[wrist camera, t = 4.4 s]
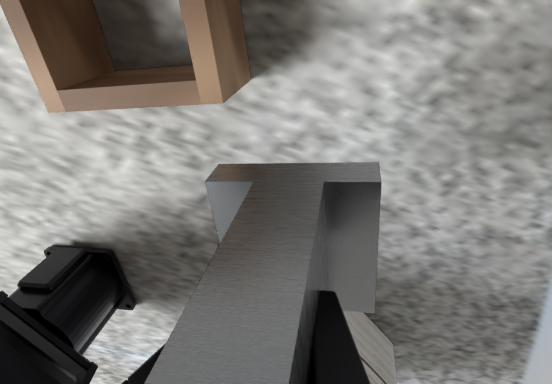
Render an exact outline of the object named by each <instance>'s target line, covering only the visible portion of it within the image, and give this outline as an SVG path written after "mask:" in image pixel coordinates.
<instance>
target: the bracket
mask: <svg viewBox="0 0 552 384" xmlns="http://www.w3.org/2000/svg"><path fill="white" fill-rule="evenodd" d="M205 184H206V188H207V192H208V197H209V201H210V205H211V209H212V214H213V218H214V222H215V226H216V230H217V235H218V239H219V243H220V245H219V246H218V248H217V250H216V252H215V254H214V256H213V257H212V259H211V261H210V263H209V265H208V267H207V269H206V270H205V272H204V274H203V276H202V278H201V280H200V282H199V283H198V285H197V287H196V289H195V291H194V293H193V294H192V296H191V298H190V300H189V302H188V304H187V306H186V307H185V309H184V311H183V313H182V315H181V317H180V318H179V320H178V322H177V324H176V326H175V328H174V330H173V331H172V333H171V335H170V337H169V339H168V341H167V343H166V344H165V346H164V348H163V350H162V352H161V354H160V355H159V357H158V359H157V361H156V363H155V365H154V367H153V368H152V370H151V372H150V374H149V376H148V378H147V380H146V381H145V383H144V384H314V363H313V332H314V325H315V318H316V312H317V306H318V300H319V294H320V291H321V290H327V291H335V292H336V294H337V297H338V299H339V302H340V305H341V307H342V310H343V311H353V312H364V313H375V294H376V275H377V256H378V236H379V217H380V198H381V175H380V167H379V162H372V163H273V164H218V166H217V167H216V168H215V170H214V171H213V172H212V173H211V175H210V176H209V177H208V178H207V180H206V181H205Z"/></svg>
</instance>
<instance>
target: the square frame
mask: <svg viewBox="0 0 552 384" xmlns="http://www.w3.org/2000/svg"><path fill="white" fill-rule="evenodd" d="M179 3H180V8H181V12H182V17H183V22H184V26H185V31H186V35H187V40H188V45H189V49H190V54H191V59H192V63H193V65H181V66H170V67H158V68H146V69H134V70H122V71H115V69H114V66H113V63H112V60H111V57H110V54H109V51H108V48H107V45H106V42H105V39H104V36H103V33H102V30H101V26H100V23H99V20H98V17H97V14H96V11H95V8H94V5H93V2H92V0H0V5H1V7H2V9H3V12H4V14H5V16H6V18H7V21H8V23H9V25H10V27H11V30H12V32H13V34H14V36H15V39H16V41H17V43H18V45H19V48H20V50H21V52H22V54H23V57H24V59H25V61H26V63H27V66H28V68H29V70H30V72H31V75H32V77H33V79H34V81H35V84H36V86H37V88H38V90H39V93H40V95H41V97H42V100H43V102H44V104H45V106H46V109H47V111H48V113H53V112H71V111H90V110H108V109H126V108H144V107H162V106H180V105H198V104H216V103H224V102H225V101H226V100H227V99H229V98H230V97H231V96H232V95H233V94H235V93H236V92H237V91H238V90H239V89H240V88H242V87H243V86H244V85H245V84H246V83H248V82H249V81H250V80H251V76H250V69H249V62H248V55H247V47H246V40H245V33H244V26H243V19H242V11H241V4H240V0H179Z"/></svg>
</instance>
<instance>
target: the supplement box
mask: <svg viewBox="0 0 552 384" xmlns="http://www.w3.org/2000/svg"><path fill="white" fill-rule="evenodd" d="M343 312H344V315H345V318H346V320H347V323H348V326H349V328H350V331H351V333H352V336H353V339H354V341H355V344H356V347H357V349H358V352H359V355H360V357H361V360H362V362H363V365H364V368H365V370H366V373H367V376H368V378H369V381H370V384H397V377H396V368H395V359H394V349H393V344H392V343H391V341H390V340H389V339H388V338H387V337H386V336H385V335H384V334H383V333H382V332H381V331H380V330H379V329H378V328H377V326H376V325H375V324H374V323H373V322H372V321H371V320H370V319H369V318H368V317H367V316H366V315H365V314H364V313H363V312H353V311H343Z"/></svg>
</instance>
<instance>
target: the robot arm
mask: <svg viewBox="0 0 552 384" xmlns="http://www.w3.org/2000/svg"><path fill="white" fill-rule="evenodd" d="M44 254H45V256H46V257H47V258H45V259H44V260H43V261H42V262H41V263H40V264H38V265H37V266H36V267H35V268H34V269H33V270H32V271H30V272H29V273H28V274H27V275H26V276H25V277H23V278H22V279H21V280H20V281H19V282H18V284H17V286H18V287H19V288H18V289H17V290H16V291H15V292H14V293H13V294H11V295H10V296H9V297H7V296H8V295H7V294H6V293H5V292H4V291H0V384H89V383H90V381H91V379H92V377H93V375H94V374H95V372H96V370H97V368H98V365H96V364H95V363H94V362H90V361H89V360H88V359H86V358H85V357H84V356H83V353H84V352H85V351H86V349H87V348H88V347H89V345H90V344H91V343H92V341H93V340H94V339H95V338H96V336H97V335H98V334H99V332H100V331H101V330H102V328H103V327H104V326H105V324H106V323H107V322H108V320H109V319H110V318H111V316H112V315H113V314H114V312H115V311H116V310H117V309H124V310H133V309H134V308H135V306H136V302H135V300H134V297H133V295H132V293H131V290H130V288H129V286H128V284H127V281H126V279H125V277H124V274H123V272H122V270H121V268H120V265H119V263H118V261H117V258H116V256H115V254H114V253H113V252H112V251H111V250H107V249H89V248H70V247H51V246H50V247H48V248H47V249H46V250H44ZM165 344H166V343H165ZM165 344H164V345H163V346H162V347H161V348H160V349H159V350H158V351H157V352H156V353H155V354H153V355H152V356H151V357H150V358H149V359H148V360H147V361H146V362H145V363H144V364H143V365H141V366H140V367H139V368H138V369H137V370H136V371H135V372H134V373H133V374H132V375H131V376H129V377H128V381H127V380H125V381H124V382H123V383H122V384H144V383H145V381H146V380H147V378H148V376H149V374H150V372H151V370H152V368H153V367H154V365H155V363H156V361H157V359H158V357H159V355H160V354H161V352H162V350H163V348H164V346H165ZM313 363H314V384H370V381H369V378H368V376H367V373H366V370H365V368H364V365H363V362H362V360H361V357H360V355H359V352H358V349H357V347H356V344H355V341H354V339H353V336H352V333H351V331H350V328H349V326H348V323H347V320H346V318H345V315H344V312H343V310H342V307H341V305H340V302H339V299H338V297H337V294H336V292H335V291H327V290H321V291H320V294H319V300H318V306H317V312H316V318H315V325H314V332H313Z"/></svg>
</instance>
